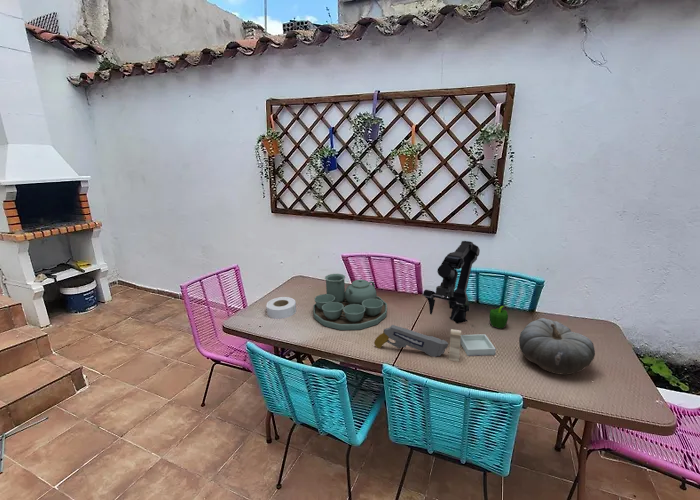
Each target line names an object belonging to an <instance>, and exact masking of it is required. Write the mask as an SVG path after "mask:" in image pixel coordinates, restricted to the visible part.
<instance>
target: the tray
mask: <svg viewBox="0 0 700 500" xmlns="http://www.w3.org/2000/svg"><path fill="white" fill-rule="evenodd" d="M460 347H462V349H463V351H464V352H465V355H467V356H466V357H471V356H472V357H476V356H477V357H478V356H479V357H480V356H483V357H484V356H496V352H497V351H496V350H497V348H496V347H495V346H494V344H493V343H492V342H491V340H490V339H489V337H488V336H487V335H486V333H484V334H483V333H482V334H480V333H479V334H461V341H460Z"/></svg>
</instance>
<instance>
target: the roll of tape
mask: <svg viewBox="0 0 700 500" xmlns="http://www.w3.org/2000/svg"><path fill="white" fill-rule="evenodd" d="M296 312H297V303H296V300H295V299H294V298H292V297H289V296H280V297H279V296H278V297H275V298H272V299H270V300H269V301H267V302H266V314H267V316H268V317H269V318H271V319H276V320H277V319H279V320H282V319H286V318H290V317H292V316H293V315H295V314H296Z"/></svg>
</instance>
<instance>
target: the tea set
mask: <svg viewBox="0 0 700 500" xmlns="http://www.w3.org/2000/svg"><path fill="white" fill-rule="evenodd" d="M324 279H325V289H326V293H323V294H319V295H316V296H315V297H314V302H315V304H313V306H312V309H313V319H314V320H316V321H317V322H318V323H320V324H321V325H322V326H323V327H327V328H332V329H335V330H339V331H352V330H353V331H356V330H358V331H359V330H364V329H367V328H370V327H373V326H377V325H378V324H380V323H381V322H382V321H383V320H384V319H385V318H386V317H387V312H388V303H387V302H386V301H384V299H382V298H381V297H380V296H378V295H377V290H376V288H375V283H374V281H372V280H370V281H368V280H366V279H356V280H354V281H352V282H351V284H349V285H348V286H347V287H346V288H345V286H346V285H345V279H346V275H344V274H341V273H330V274H327V275H326V276H325V277H324Z"/></svg>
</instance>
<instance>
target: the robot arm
mask: <svg viewBox="0 0 700 500" xmlns="http://www.w3.org/2000/svg"><path fill="white" fill-rule="evenodd" d="M479 255H480V247H479V246H478V245H476V244H474V242H473V241H470V240H469V241H468V240H461V243H460V245H458V247H457V248H456V250H454V252H453V251H452V252H449V253H448V254H447V255H446V256H444V259H443V260H442V262H441V264H440V265H439V266H438V267H437V271H436V272H437V274H438V276H440V278H442V281H441V283H440V285H438V286H436V288H435V291H433V290H430V289H425V290H423V292H422V295H423V296H424V297H425V298H426V299H427V301H428V306H429V308H428V309H429V315H431V316H432V315H433V312H434V307H435V303H436V300H435V299H441V300H445V301H448V306H449V309H451V312H450V316H449V319H450V320H451V321H453V322H454V323H455V324H463V323H466V322H468V321H469V319H467V312H470V305H471V304H470V303H469V297H468V294H467V287H468V284H469V280H470V276H471V271H472V267H473V266H472V265H473V264H474V263H475V262H476V261H478V257H479ZM457 270H459V271H460V273H459V272H458V271H457ZM458 276H459V277H458ZM457 280H458V281H457ZM456 283H457V285H456Z"/></svg>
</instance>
